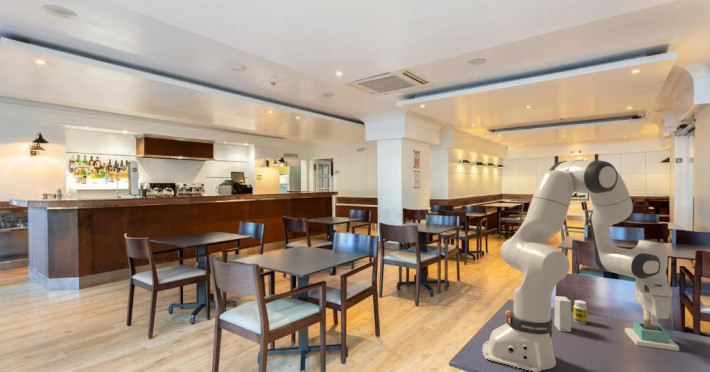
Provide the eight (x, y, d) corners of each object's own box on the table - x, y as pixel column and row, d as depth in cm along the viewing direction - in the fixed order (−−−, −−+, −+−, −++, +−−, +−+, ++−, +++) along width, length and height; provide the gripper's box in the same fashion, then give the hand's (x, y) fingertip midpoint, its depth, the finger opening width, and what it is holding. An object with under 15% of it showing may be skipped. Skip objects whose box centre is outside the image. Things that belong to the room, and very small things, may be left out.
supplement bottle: (574, 323, 146) (574, 302, 146) (572, 318, 151) (572, 299, 150) (588, 324, 145) (588, 304, 144) (585, 320, 149) (585, 300, 149)
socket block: (636, 345, 127) (636, 331, 127) (624, 331, 138) (625, 318, 138) (679, 350, 122) (679, 336, 122) (663, 336, 134) (663, 323, 133)
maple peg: (645, 334, 129) (646, 306, 129) (641, 329, 133) (642, 303, 132) (659, 335, 127) (660, 308, 127) (654, 331, 131) (655, 304, 131)
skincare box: (571, 332, 138) (571, 301, 137) (559, 331, 139) (559, 300, 138) (565, 325, 144) (565, 296, 143) (554, 325, 145) (554, 295, 144)
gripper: (630, 275, 140) (629, 310, 141) (652, 291, 121) (651, 331, 122) (649, 277, 138) (649, 312, 139) (675, 293, 119) (674, 334, 119)
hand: (650, 321), depth 130 cm, fingers closed on maple peg, 4 cm apart
